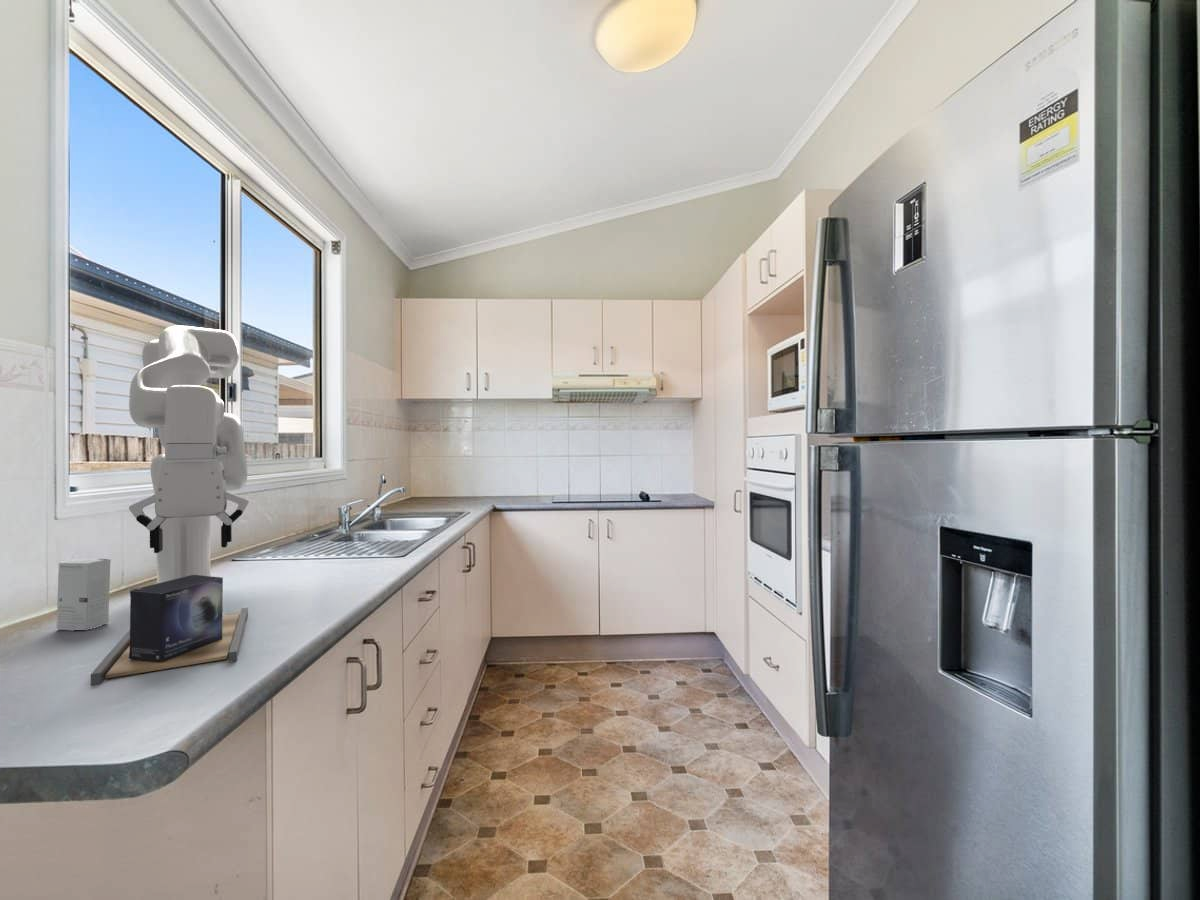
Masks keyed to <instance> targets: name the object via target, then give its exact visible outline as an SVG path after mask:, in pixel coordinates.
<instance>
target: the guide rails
mask: <svg viewBox="0 0 1200 900" xmlns="http://www.w3.org/2000/svg"><path fill="white" fill-rule="evenodd" d="M239 614H240V616H239V619H238V623H237V626H236V629H235V633H234V636H233V640H232V643H231V646H230V650H229V654H228V663H231V662H230V661H234V662H237V661H238V657H239V653H240V650H241V646H242V641H243V639H244V638H243V637H244V633H245V629H246V624H247V622H248V618H249V607H241V610H240V612H239ZM129 646H130V629H129V630H128V631H127V632H126V633H125V634H124V635H123V637H121V639H119V641H118V643H117V644H116V645H115V646H114V647H113V648H112V650H110V652H109V653H108V654H107V655H106V656H105V657H104V658H103V660H102V661H101V662H100V663H99V664H98V665H97V666H96V667H95V669H94V670H93V671H92V672H91V673H90V686H95V685H101V684H102V683H103V681H104V680H105V679H106V674H107V673H108V672H109V670H110V669H111V668H112V667H113V665H114V664H115V663H116V662H117V660H118V659H119V658H120V657H121V656H122V654H123V653H124V652H125V651H126V649H127V648H128V647H129Z"/></svg>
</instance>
